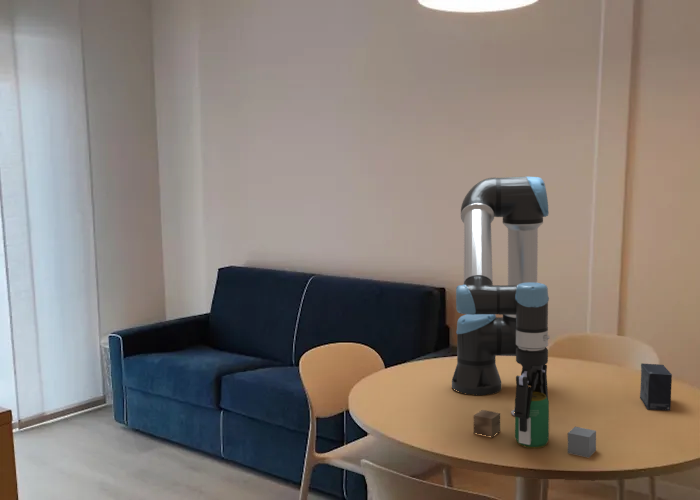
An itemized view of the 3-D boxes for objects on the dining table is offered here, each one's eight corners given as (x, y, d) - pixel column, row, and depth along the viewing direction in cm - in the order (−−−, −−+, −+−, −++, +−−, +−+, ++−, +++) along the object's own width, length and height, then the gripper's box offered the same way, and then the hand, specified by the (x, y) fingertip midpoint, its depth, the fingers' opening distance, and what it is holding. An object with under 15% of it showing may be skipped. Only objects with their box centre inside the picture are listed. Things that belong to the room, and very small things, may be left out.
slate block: (567, 453, 164) (567, 432, 164) (575, 446, 168) (575, 426, 167) (588, 458, 161) (589, 437, 161) (595, 451, 165) (596, 430, 164)
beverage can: (554, 441, 171) (554, 394, 170) (538, 451, 165) (538, 402, 164) (525, 434, 177) (525, 388, 175) (509, 443, 171) (508, 396, 169)
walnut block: (473, 434, 178) (473, 415, 177) (482, 428, 182) (482, 409, 181) (491, 438, 175) (491, 418, 174) (500, 432, 179) (500, 413, 178)
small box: (672, 411, 190) (673, 374, 189) (647, 410, 191) (647, 373, 190) (663, 399, 200) (664, 363, 199) (639, 398, 202) (639, 362, 201)
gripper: (529, 358, 158) (529, 455, 160) (562, 340, 174) (561, 427, 177) (499, 354, 162) (499, 448, 165) (533, 336, 179) (533, 422, 181)
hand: (531, 437), depth 171 cm, fingers closed on beverage can, 8 cm apart
